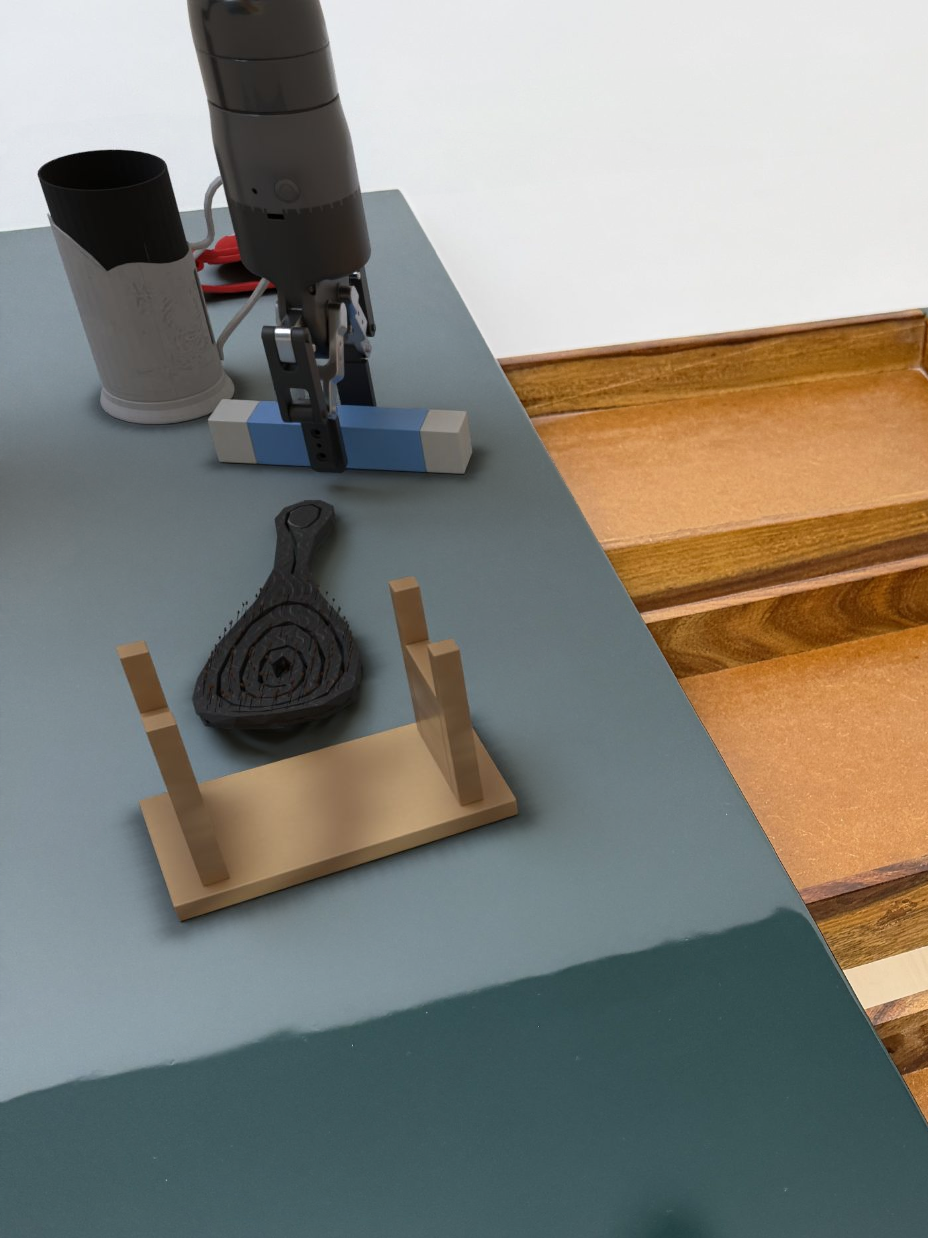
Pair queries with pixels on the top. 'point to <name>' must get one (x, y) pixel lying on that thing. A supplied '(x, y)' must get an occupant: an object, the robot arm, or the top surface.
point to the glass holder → (138, 284)
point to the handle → (346, 437)
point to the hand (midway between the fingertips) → (345, 440)
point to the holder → (320, 786)
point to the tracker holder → (223, 254)
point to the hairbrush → (283, 641)
